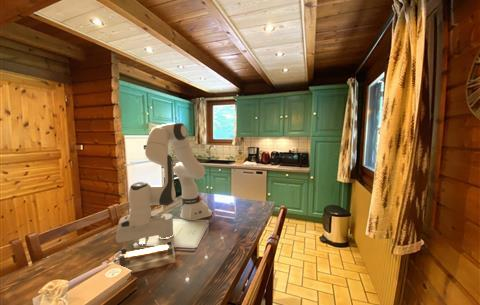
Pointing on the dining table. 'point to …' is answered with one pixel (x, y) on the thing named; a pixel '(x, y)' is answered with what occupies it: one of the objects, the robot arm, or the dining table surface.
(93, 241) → the dining table surface
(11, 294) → the dining table surface
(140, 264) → the latch board
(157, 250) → the brown wooden bar
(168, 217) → the cup
